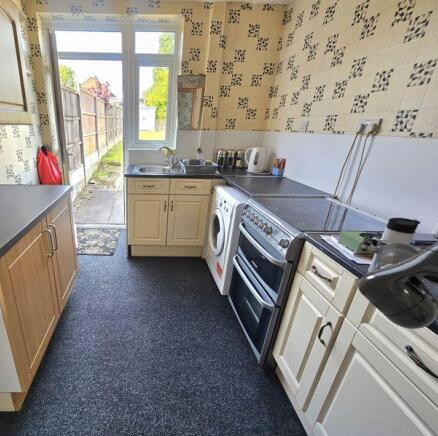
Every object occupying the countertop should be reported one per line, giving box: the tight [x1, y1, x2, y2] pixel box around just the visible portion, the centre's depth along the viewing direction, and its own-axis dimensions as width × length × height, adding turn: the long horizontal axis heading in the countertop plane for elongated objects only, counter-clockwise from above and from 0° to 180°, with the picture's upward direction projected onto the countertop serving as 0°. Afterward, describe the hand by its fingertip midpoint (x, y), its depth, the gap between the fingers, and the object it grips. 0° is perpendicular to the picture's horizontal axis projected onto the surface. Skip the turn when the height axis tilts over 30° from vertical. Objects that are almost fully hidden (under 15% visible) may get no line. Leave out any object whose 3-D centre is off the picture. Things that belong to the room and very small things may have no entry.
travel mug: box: [367, 217, 421, 273], centre depth 76 cm, size 6×7×20 cm
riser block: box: [337, 230, 375, 253], centre depth 97 cm, size 10×10×5 cm
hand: (398, 242), depth 66 cm, fingers open, 8 cm apart
